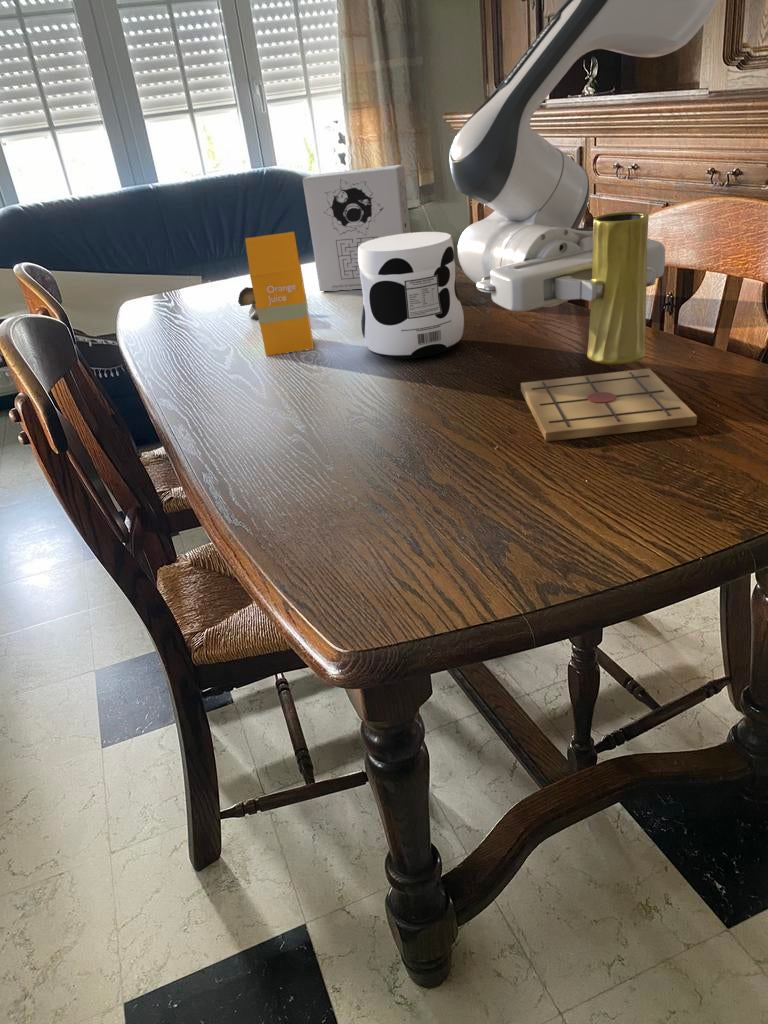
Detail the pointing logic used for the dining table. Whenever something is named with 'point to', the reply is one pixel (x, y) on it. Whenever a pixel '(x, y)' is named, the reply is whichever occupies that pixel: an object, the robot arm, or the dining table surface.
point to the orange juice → (279, 293)
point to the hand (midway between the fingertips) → (625, 284)
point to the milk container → (410, 295)
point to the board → (604, 405)
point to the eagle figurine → (248, 301)
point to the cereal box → (352, 218)
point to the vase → (619, 288)
